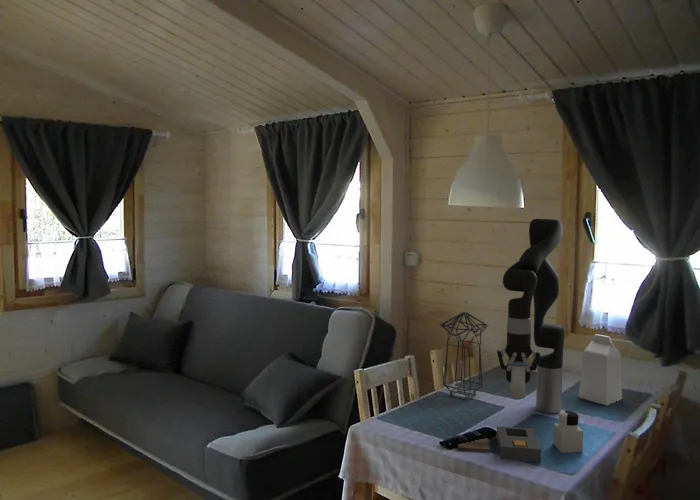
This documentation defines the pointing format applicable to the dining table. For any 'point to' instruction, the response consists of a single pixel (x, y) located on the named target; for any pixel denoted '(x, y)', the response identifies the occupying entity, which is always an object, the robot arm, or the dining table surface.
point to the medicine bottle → (568, 433)
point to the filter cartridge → (517, 380)
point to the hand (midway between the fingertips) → (517, 381)
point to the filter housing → (518, 453)
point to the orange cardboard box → (519, 443)
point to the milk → (601, 372)
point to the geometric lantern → (464, 352)
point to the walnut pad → (475, 445)
